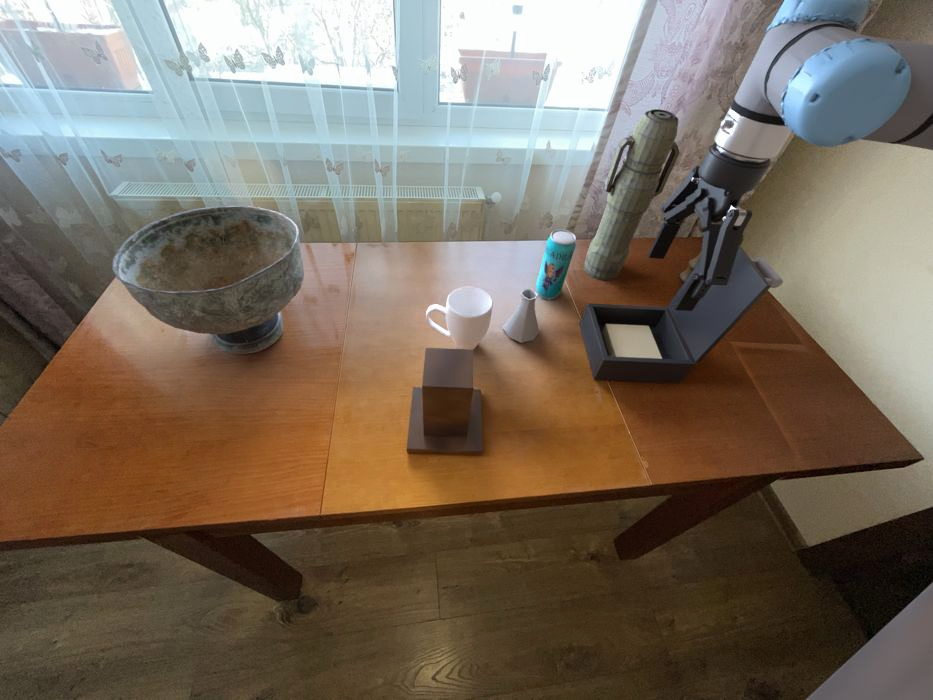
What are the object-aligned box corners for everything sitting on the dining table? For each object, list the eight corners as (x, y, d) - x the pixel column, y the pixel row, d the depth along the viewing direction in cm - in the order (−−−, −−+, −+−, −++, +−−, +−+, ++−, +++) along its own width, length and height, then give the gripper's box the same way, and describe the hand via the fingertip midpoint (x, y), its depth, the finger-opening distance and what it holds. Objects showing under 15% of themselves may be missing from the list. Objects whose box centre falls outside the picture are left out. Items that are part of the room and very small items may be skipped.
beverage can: (532, 297, 90) (546, 240, 79) (537, 282, 94) (551, 225, 83) (557, 304, 89) (575, 247, 78) (561, 288, 93) (579, 232, 82)
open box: (593, 380, 76) (603, 360, 71) (579, 323, 86) (587, 303, 81) (680, 383, 77) (696, 364, 72) (656, 327, 87) (668, 307, 82)
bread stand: (480, 393, 72) (489, 337, 61) (481, 455, 64) (492, 404, 53) (413, 391, 72) (410, 334, 60) (406, 453, 64) (401, 401, 52)
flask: (520, 313, 87) (529, 276, 79) (545, 332, 83) (556, 296, 76) (496, 327, 83) (502, 291, 76) (520, 348, 80) (530, 312, 72)
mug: (484, 328, 83) (491, 286, 74) (488, 359, 78) (495, 317, 69) (426, 328, 82) (426, 284, 73) (426, 359, 77) (425, 316, 68)
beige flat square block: (644, 333, 84) (648, 325, 82) (657, 367, 78) (662, 359, 76) (601, 331, 83) (605, 323, 81) (612, 365, 77) (616, 357, 76)
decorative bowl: (150, 388, 68) (78, 297, 53) (188, 291, 84) (141, 201, 70) (314, 373, 73) (290, 288, 59) (320, 285, 90) (302, 201, 75)
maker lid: (766, 285, 58) (809, 291, 59) (723, 228, 68) (761, 234, 69) (695, 362, 72) (731, 366, 73) (667, 305, 82) (699, 309, 83)
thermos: (630, 280, 97) (704, 124, 70) (583, 281, 95) (642, 122, 69) (617, 258, 103) (682, 106, 76) (573, 258, 101) (623, 104, 75)
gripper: (679, 113, 59) (626, 238, 75) (761, 197, 43) (671, 334, 59) (728, 117, 60) (665, 240, 76) (828, 201, 43) (721, 336, 59)
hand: (668, 281), depth 67 cm, fingers open, 13 cm apart
